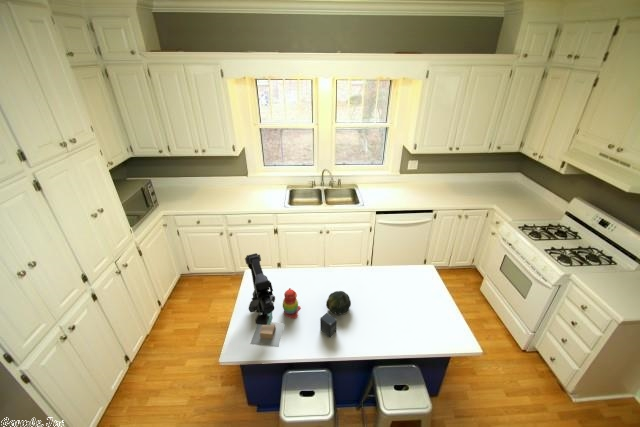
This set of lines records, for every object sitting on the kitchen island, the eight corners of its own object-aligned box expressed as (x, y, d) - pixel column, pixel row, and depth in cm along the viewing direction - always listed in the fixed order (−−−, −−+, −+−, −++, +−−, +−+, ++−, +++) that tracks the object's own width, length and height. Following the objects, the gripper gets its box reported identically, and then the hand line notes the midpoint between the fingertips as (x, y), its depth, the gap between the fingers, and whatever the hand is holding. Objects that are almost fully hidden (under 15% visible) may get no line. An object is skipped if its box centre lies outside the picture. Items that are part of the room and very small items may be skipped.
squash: (320, 296, 187) (329, 293, 174) (340, 289, 194) (350, 286, 181) (328, 319, 184) (337, 317, 171) (348, 311, 190) (358, 309, 177)
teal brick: (263, 317, 166) (262, 309, 163) (272, 318, 166) (271, 310, 163) (261, 324, 162) (260, 316, 159) (270, 325, 161) (269, 317, 158)
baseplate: (258, 321, 177) (258, 320, 176) (285, 324, 175) (284, 323, 175) (250, 345, 163) (250, 343, 162) (278, 348, 161) (278, 346, 161)
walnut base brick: (263, 327, 172) (263, 322, 170) (275, 328, 171) (275, 324, 169) (260, 337, 166) (259, 333, 164) (272, 339, 165) (272, 334, 163)
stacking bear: (297, 320, 178) (295, 299, 169) (280, 317, 179) (279, 296, 171) (301, 307, 187) (300, 286, 178) (286, 304, 189) (284, 283, 180)
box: (336, 332, 170) (337, 319, 165) (330, 338, 167) (330, 325, 162) (326, 324, 175) (326, 312, 170) (320, 330, 171) (320, 317, 166)
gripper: (254, 285, 164) (257, 305, 172) (243, 311, 148) (247, 332, 156) (274, 287, 163) (276, 307, 171) (265, 313, 147) (267, 334, 155)
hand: (266, 319), depth 163 cm, fingers closed on teal brick, 5 cm apart
